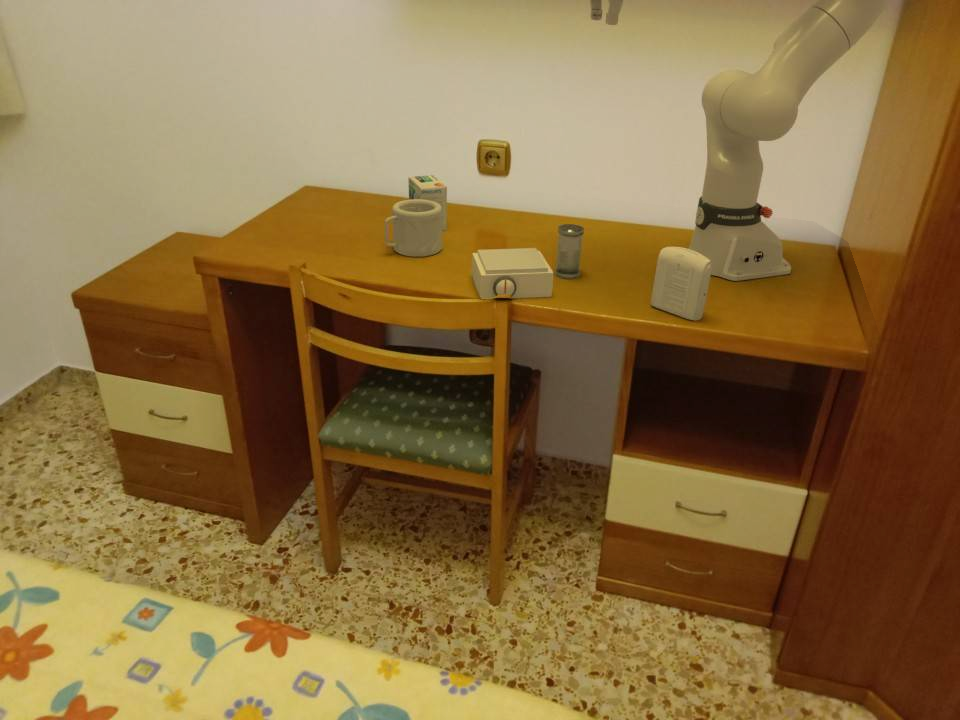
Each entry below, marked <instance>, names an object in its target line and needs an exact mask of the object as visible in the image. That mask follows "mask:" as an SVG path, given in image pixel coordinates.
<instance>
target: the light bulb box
mask: <svg viewBox="0 0 960 720" xmlns="http://www.w3.org/2000/svg"><path fill="white" fill-rule="evenodd" d="M447 197H448V185H446V184H444V182H442V181H441V180H440V179H439V178H438V177H437V176H435V175H434V174H430V175H429V174H428V175H419V176H408V200H411V199H423V200H430V201H434V202H437V203H438V204H440V205H441V207H442V232H443V231H444V232H445V231H447V225H448V224H447V219H448V217H447V208H448V207H447V206H448V205H447V203H448V201H447V200H448V198H447Z"/></svg>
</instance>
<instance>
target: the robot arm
mask: <svg viewBox="0 0 960 720" xmlns="http://www.w3.org/2000/svg"><path fill="white" fill-rule="evenodd" d="M602 1H603V0H589V4H590V20H592V21H601V20H602V18H603V9H602V4H603V3H602ZM887 1H888V0H816V1H815V2H814V3H813V4H811V5H810V6H809V7H808V8H807V9H806V10H805V11H804V12H803V13H802V14H801V15H800V16H799V17H798V18H797V19H795V20H794V21H793V22H792V23H791V24H790V25H789V26H788V27H787V28H786V29H784V31H783V32H782V33H780V34H779V36H778V37H777V38H776V39H775V41H774V42H773V43H774V44H773V50H772V52H771V54H770V55H769V57H768V59H767V60H765V63H764V64H763V65H762V67H760V69H759V70H757V71H756V72H754V73H749V72H747V71H743V70H739V69H738V70H728V71H722V72H719V73H717V74H715V75H714V76H712V77H711V78H710V79H709V80H708V81H707V82H706V84H705V86H704V87H703V90H702V92H701V105H702V108H703V111H704V114H705V125H706V127H705V128H706V148H707V149H706V150H707V155H706V168H705V174H704V180H703V186H702V193H701V196H700V197H699V198H698V199H699V200H698V203H697V209H696V213H695V225H694V230H693V234H692V238H691V240H690V244H689V246H688V248H687V249H690V250H693V251H695V252H698V253H700V254H702V255H703V256H705V257H706V258H708V259H709V260H710V261H711V262H712V271H711V276H716V277H720V278H722V279H725V280H729V281H734V282H739V281H744V280H745V281H746V280H752V279H753V280H754V279H760V278H761V279H762V278H767V277H777V276H783V275H785V276H786V275H789V274H791V271H792V265H791V264H790V263H789V262H788V261H787V260H786V259H785V257H783V251H784V250H783V243H782V240H781V239H780V238H779V236H777V235H776V233H774V232H773V231H772V230H771V229H770V227H768V226H767V225H766V224H765V223H764V222H763V220H762V217H764V218H765V219H769V218H771V217H772V216H773V214H774V213H773V210H772V208H769V207H768V206H763V205H761V204H760V203H759V202H757V201H758V197H759V192H760V187H761V182H762V177H763V172H764V162H763V159H762V156H761V151H760V142H772V141H776V140H778V139H781V138H783V137H784V136H785V135H786V134H788V133H789V131H791V129H792V128H793V126H794V124H795V123H796V120H797V119H798V118H797V117H798V113H799V106H800V104H801V102H802V101H803V99H804V97H805V96H806V95H807V92H809V90H810V89H811V88H812V86H813V85H814V84H815V83H816V81H818V80H819V78H820V77H821V76H823V75H824V74H825V72H827V71H828V70H829V69H830V68H831V67H832V66H833V65H834V64H835V63H836V62H838V61H839V60H840V59H841V57H843V56H844V55H845V54H846V53H847V52H848V51H849V50H851V49H852V48H853V46H855V45H856V44H857V43H858V42H859V41H860V40H861V39H862V38H863V36H865V35H866V33H867V32H868V31H869V30H870V29H871V28H872V27H873V25H874V24H875V23H876V21H878V20H879V18H880V16H881V15H882V14H883V12H884V11H885V9H886V7H887ZM623 2H624V0H608V3H609V4H608V10H607V12H606V13H605V14H606V15H605V24H606V25H609V26H616V25H618V23H619V15H620V11H621V9H622V6H623V4H624V3H623ZM761 216H762V217H761Z"/></svg>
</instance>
